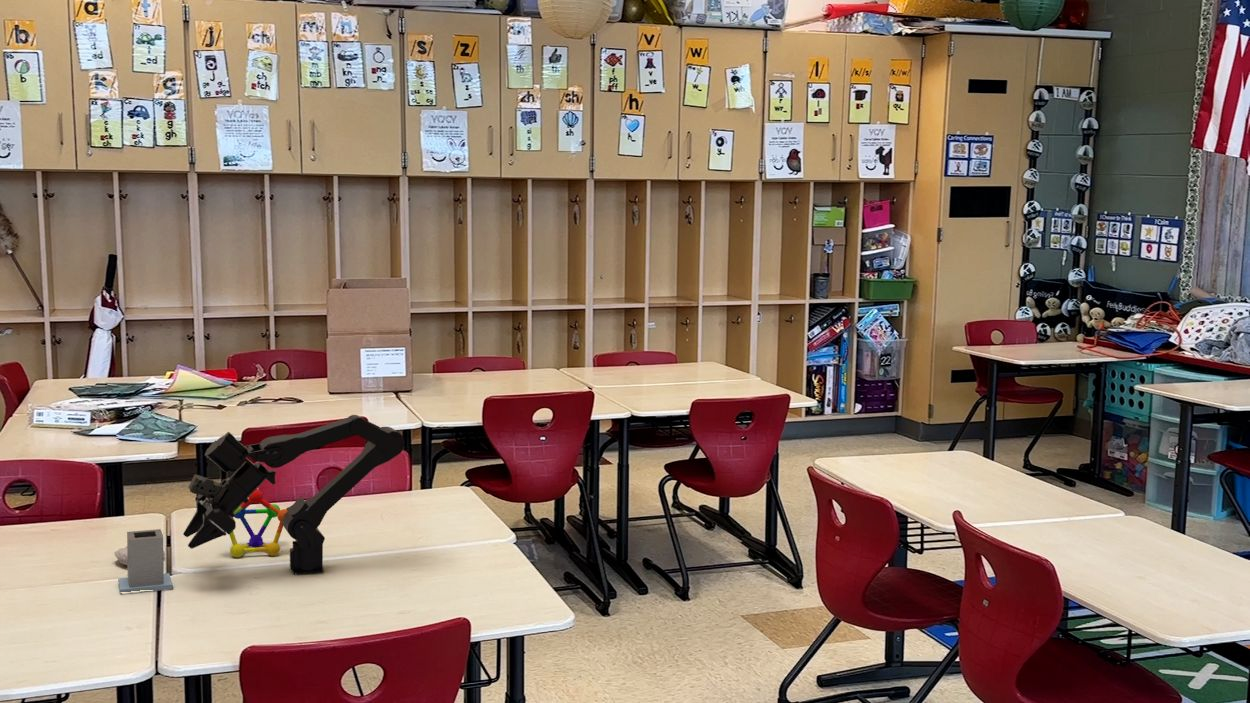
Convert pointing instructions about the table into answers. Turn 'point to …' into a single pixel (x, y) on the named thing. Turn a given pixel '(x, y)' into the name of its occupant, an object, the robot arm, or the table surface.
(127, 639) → the table surface
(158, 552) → the open metal box
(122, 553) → the fossil
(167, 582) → the shaft stand
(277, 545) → the educational toy
